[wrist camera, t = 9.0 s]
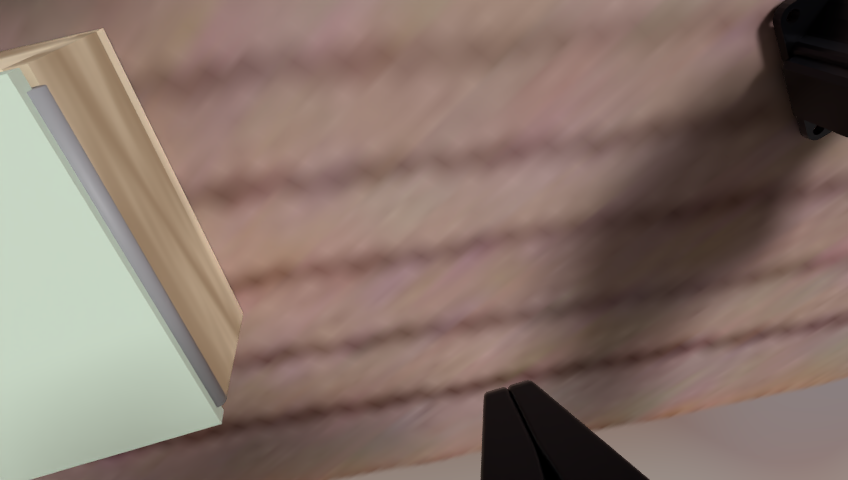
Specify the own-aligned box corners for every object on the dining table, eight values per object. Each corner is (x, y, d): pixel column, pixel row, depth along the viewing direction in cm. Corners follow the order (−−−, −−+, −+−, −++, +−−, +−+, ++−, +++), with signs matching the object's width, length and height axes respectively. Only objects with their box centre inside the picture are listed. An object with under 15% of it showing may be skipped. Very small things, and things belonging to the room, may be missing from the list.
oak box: (102, 28, 16) (27, 63, 12) (243, 313, 23) (225, 401, 19) (-188, 94, 16) (-370, 154, 12) (37, 365, 22) (-28, 467, 18)
